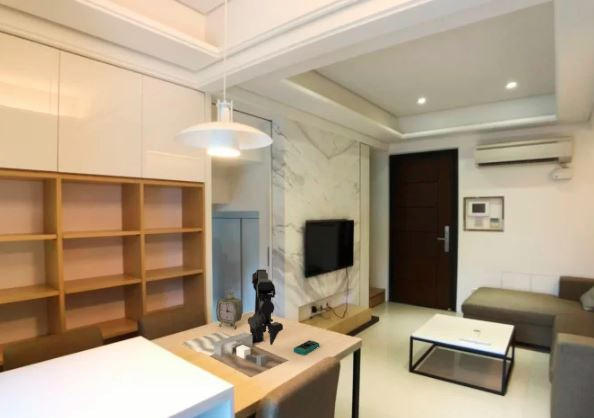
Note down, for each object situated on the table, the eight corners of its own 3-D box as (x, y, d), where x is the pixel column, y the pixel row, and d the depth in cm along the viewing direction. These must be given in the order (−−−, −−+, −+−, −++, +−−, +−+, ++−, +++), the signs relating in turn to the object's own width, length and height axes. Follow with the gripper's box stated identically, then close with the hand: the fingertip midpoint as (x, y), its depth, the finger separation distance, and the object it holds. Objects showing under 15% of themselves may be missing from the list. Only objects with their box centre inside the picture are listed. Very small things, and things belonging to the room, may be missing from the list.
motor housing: (245, 344, 189) (245, 332, 189) (252, 347, 185) (252, 334, 185) (213, 355, 174) (213, 342, 174) (220, 358, 170) (220, 345, 170)
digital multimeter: (320, 347, 190) (320, 342, 190) (304, 356, 178) (304, 350, 178) (308, 344, 194) (309, 339, 194) (293, 353, 182) (293, 347, 182)
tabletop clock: (216, 327, 218) (216, 287, 218) (224, 323, 227) (224, 284, 227) (235, 330, 213) (236, 289, 213) (243, 326, 221) (244, 286, 221)
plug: (241, 352, 179) (241, 344, 179) (266, 363, 166) (266, 355, 166) (234, 354, 176) (235, 346, 176) (260, 366, 163) (260, 357, 163)
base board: (219, 333, 208) (219, 331, 208) (288, 362, 170) (288, 360, 170) (183, 344, 191) (183, 342, 191) (250, 379, 152) (250, 377, 152)
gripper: (238, 307, 163) (238, 341, 162) (265, 316, 150) (264, 352, 150) (257, 303, 171) (256, 335, 170) (283, 311, 158) (283, 345, 158)
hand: (264, 342), depth 162 cm, fingers open, 9 cm apart
